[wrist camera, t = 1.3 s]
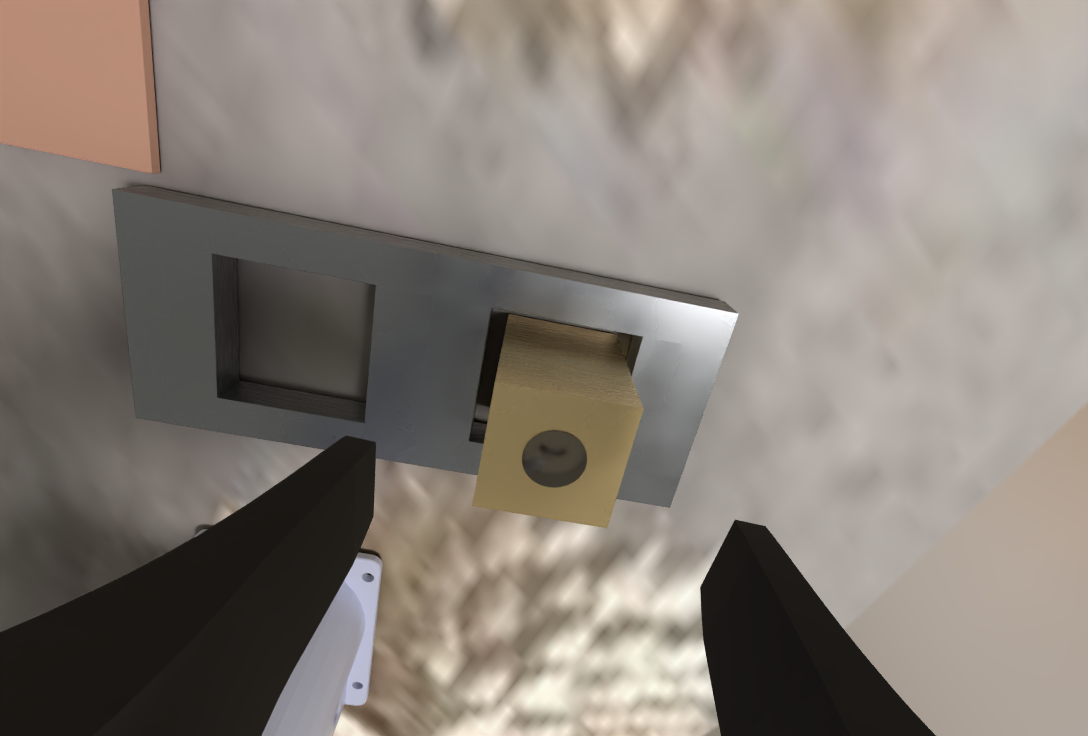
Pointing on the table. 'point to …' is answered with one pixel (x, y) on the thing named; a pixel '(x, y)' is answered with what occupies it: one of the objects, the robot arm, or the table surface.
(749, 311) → the table surface
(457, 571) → the table surface
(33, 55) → the terracotta mat
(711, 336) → the metal rail
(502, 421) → the cube with round inset
